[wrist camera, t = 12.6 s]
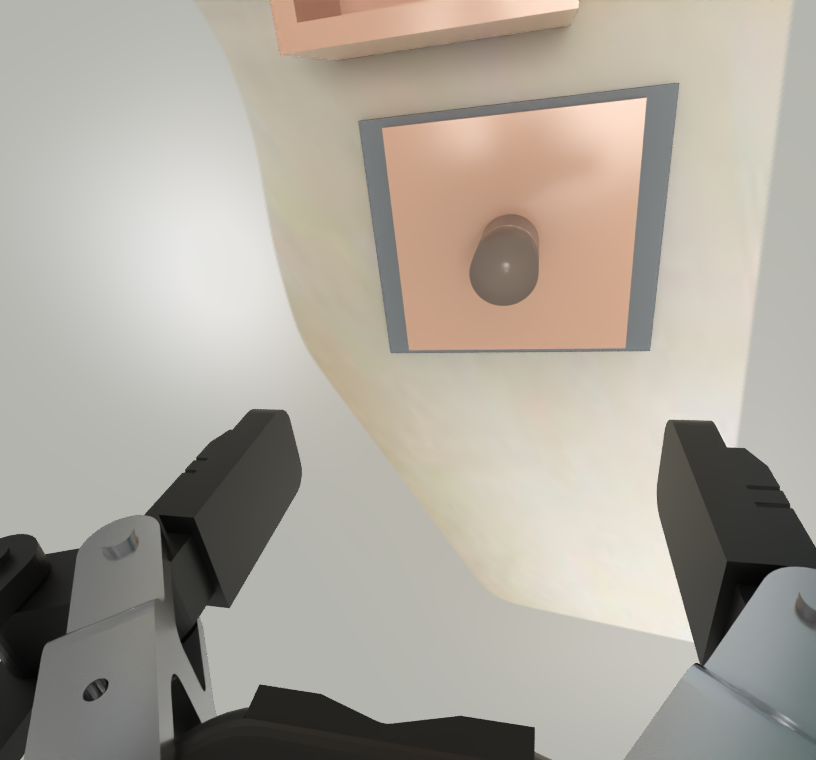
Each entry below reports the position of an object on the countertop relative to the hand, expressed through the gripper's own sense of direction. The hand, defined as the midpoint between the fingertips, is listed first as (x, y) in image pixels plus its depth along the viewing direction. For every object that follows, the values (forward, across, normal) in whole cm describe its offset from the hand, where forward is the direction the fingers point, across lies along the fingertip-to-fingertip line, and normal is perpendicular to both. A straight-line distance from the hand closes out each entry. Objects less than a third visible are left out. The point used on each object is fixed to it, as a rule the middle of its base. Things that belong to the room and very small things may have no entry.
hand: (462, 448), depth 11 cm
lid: (+22, 0, +1) cm, 22 cm away
